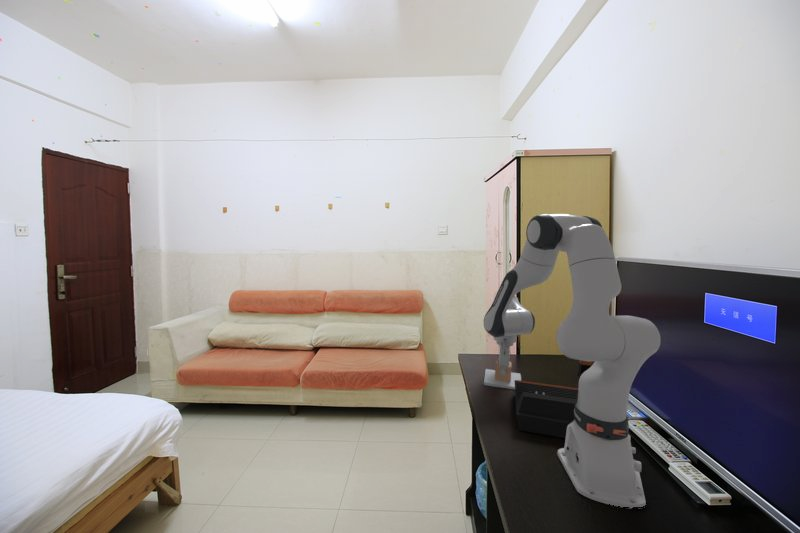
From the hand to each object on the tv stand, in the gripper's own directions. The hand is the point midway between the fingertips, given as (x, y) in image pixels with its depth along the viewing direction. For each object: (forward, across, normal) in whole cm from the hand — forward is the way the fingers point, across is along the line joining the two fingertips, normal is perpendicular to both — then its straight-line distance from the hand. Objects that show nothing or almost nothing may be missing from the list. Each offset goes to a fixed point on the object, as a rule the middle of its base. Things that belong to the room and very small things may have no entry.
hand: (503, 369), depth 140 cm
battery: (+5, +16, -34) cm, 38 cm away
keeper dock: (+5, 0, 0) cm, 5 cm away
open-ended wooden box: (+4, 0, 0) cm, 4 cm away
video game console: (+5, -23, -18) cm, 30 cm away
